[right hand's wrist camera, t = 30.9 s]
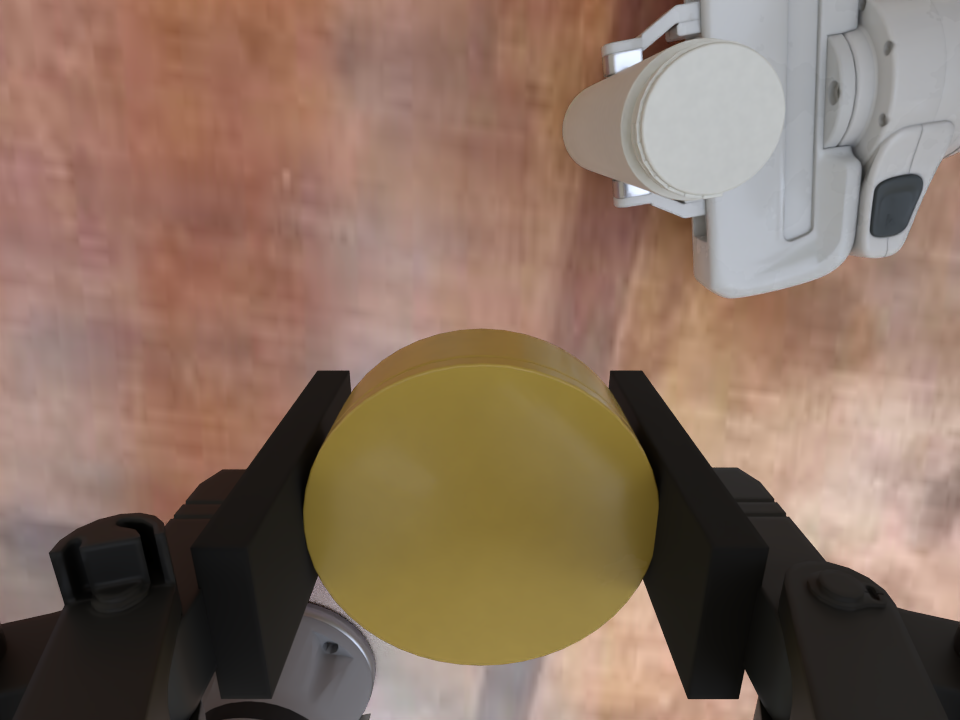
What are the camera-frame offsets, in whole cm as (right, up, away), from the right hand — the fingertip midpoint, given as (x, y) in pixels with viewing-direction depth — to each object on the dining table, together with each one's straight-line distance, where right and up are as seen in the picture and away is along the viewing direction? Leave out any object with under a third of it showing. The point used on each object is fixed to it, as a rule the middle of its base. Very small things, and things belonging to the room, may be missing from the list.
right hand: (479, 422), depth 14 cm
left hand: (+7, +14, +18) cm, 24 cm away
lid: (0, -1, -4) cm, 4 cm away
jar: (+8, +16, +23) cm, 30 cm away
